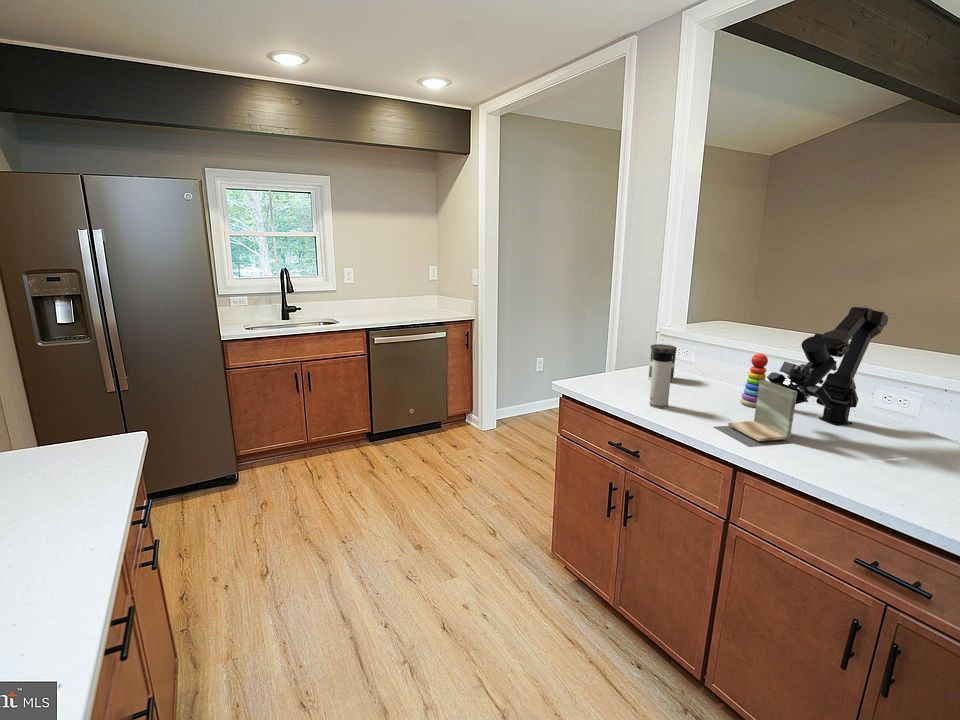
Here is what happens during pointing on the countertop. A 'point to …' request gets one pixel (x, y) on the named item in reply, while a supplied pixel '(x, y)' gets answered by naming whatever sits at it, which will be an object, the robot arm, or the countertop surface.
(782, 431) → the wooden bookend
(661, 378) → the travel mug
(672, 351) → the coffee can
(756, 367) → the stacking toy
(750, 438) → the mat
